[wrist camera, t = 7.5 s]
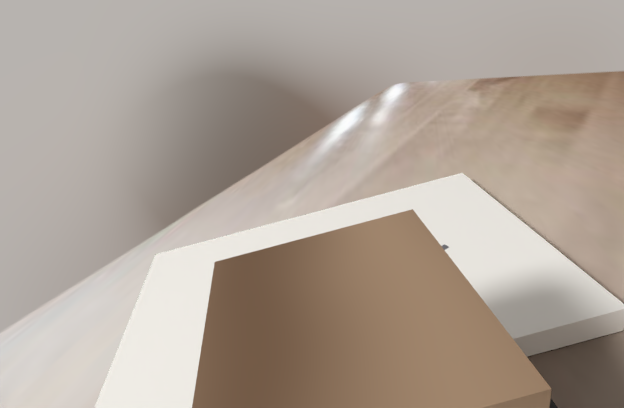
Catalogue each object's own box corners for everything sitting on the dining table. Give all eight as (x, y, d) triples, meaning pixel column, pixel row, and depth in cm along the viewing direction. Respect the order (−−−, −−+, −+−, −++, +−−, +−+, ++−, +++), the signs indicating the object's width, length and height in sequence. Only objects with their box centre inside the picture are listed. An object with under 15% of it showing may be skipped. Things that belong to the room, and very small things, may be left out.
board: (462, 188, 32) (462, 172, 32) (623, 330, 18) (628, 307, 18) (162, 268, 32) (155, 254, 31) (90, 475, 18) (74, 457, 17)
